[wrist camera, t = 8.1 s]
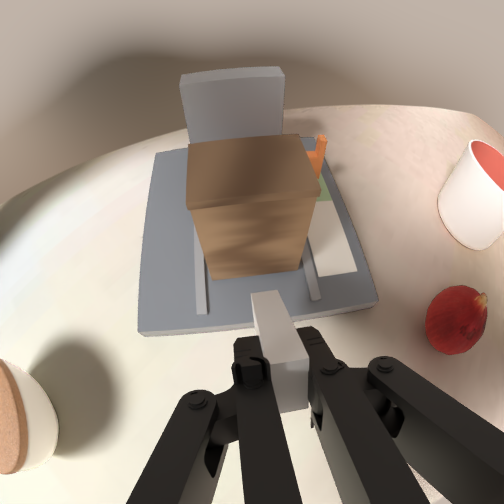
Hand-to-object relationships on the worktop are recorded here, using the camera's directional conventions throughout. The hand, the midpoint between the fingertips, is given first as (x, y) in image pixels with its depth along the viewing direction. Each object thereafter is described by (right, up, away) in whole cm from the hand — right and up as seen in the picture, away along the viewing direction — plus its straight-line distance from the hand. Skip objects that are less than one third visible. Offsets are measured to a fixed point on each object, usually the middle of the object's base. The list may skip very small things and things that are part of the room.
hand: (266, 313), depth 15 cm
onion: (+16, -4, +6) cm, 18 cm away
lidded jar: (-22, -13, +1) cm, 25 cm away
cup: (+27, +7, +12) cm, 30 cm away
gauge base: (-1, +7, +12) cm, 14 cm away
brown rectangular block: (-1, +4, +8) cm, 9 cm away
